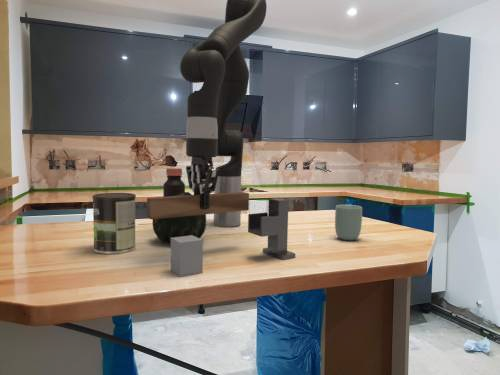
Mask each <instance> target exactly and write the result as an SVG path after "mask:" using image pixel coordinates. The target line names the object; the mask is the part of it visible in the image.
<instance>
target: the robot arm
mask: <svg viewBox="0 0 500 375" xmlns="http://www.w3.org/2000/svg"><path fill="white" fill-rule="evenodd" d="M225 5H226V6H225V16H224V23H222V24H220V25H219V26H216V28H214V29H213V30H212V32H211V33H210V34H209V35H208V36H207V37H206V39H205V40H203V41H202V42H199V43H198V44H196V45H194V46H193V47H192V48H190V49H189V50H187V51H186V52H185V53H184V54H183V56H182V58H181V60H180V64H179V65H180V66H179V70H180V74H181V76H182V78H183V79H184V80H186V81H187V82H189V83H191V84H192V83H193V84H199V83H202V86H201V87H200V89H198V90H196V91H193V92H191V93H189V95H188V96H187V111H186V112H187V116H186V117H187V118H186V126H185V128H186V129H185V131H186V132H185V135H186V136H185V148H186V149H185V156H187V157H188V158H191V163H190V165H186V167H185V171H186V177H187V181H188V187H189V188H188V189H191V190H192V193H193V195H200V208H201V209H209V197H210V194H212V193H213V192H214V194H218V193H234V192H242V171H243V170H242V169H243V155H244V154H243V152H244V136H243V135H244V134H243V133H242V131H241V130H237V129H225V128H226V127H227V126H226V125H227V123H228V120H229V118H230V117H231V116H232V115H233V113H234V112H235V111H236V109H237V108H238V107H239V106H240V105H241V103H242V102H243V101H244V99H245V98H246V95H247V93H248V87H249V80H250V70H249V67H248V64H247V62H246V59H245V56H244V54H243V51H242V49H241V45H240V44H242V42H244V41H245V40H246V39H248V38H249V37H250V36H251V35H253V34H254V33H255V32H257V31H258V30H260V28H261V26H263V23H264V21H265V18H266V15H267V14H266V13H267V7H268V6H267V1H266V0H226V4H225ZM216 157H230V160H229V161H227V163H225V164H223V165H219V166H217V167H214V163H213V158H216ZM241 212H242V211H236V212H225V213H214V214H213V223H214V225H215V226H216V227H223V228H224V227H226V228H227V227H228V228H229V227H230V228H231V227H237V226H240V225H241V222H242V221H241V217H242V216H241V214H242V213H241Z"/></svg>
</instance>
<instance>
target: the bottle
mask: <svg viewBox="0 0 500 375" xmlns="http://www.w3.org/2000/svg"><path fill="white" fill-rule="evenodd" d="M165 169H166V173H165V174H166V178H167V180H166V181H165V182H164V183H163V186H162V187H163V196H162V197H169V196H175V195H177V194H180V193H183V192H186V184H185V183H184V181H183V180H182V176H183V169H182V168H179V167H173V168H172V167H171V168H168V167H167V168H165Z"/></svg>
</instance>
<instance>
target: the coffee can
mask: <svg viewBox="0 0 500 375" xmlns="http://www.w3.org/2000/svg"><path fill="white" fill-rule="evenodd" d="M92 202H93V203H92V204H93V205H92V207H93V208H92V209H93V212H92V213H93V251H94V253H96V254H100V255H118V254H119V255H121V254H125V253H129V252H132V251H134V250H136V247H137V246H136V194H134V193H129V192H103V193H96V194H93V195H92ZM120 253H121V254H120Z"/></svg>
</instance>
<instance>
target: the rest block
mask: <svg viewBox="0 0 500 375" xmlns="http://www.w3.org/2000/svg"><path fill="white" fill-rule="evenodd" d="M203 242H204V241H203V239H201V237H200V238H197V237H195V236H193V235H190V236H182V237H174V238H171V241H170V271H171V270H172V271H171V272H172V273H174V272H175V274H176V275H177V274H178V275H177V276H178V277H180V276H182V277H186V276H185V275H187V276H192V275H197V273H198V274H202V273H203V272H204V271H203V270H204V268H203V267H204V266H203V263H204V262H203V254H204V253H203V252H204V251H203V249H204V248H203V245H204V244H203ZM191 274H192V275H191Z"/></svg>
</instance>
